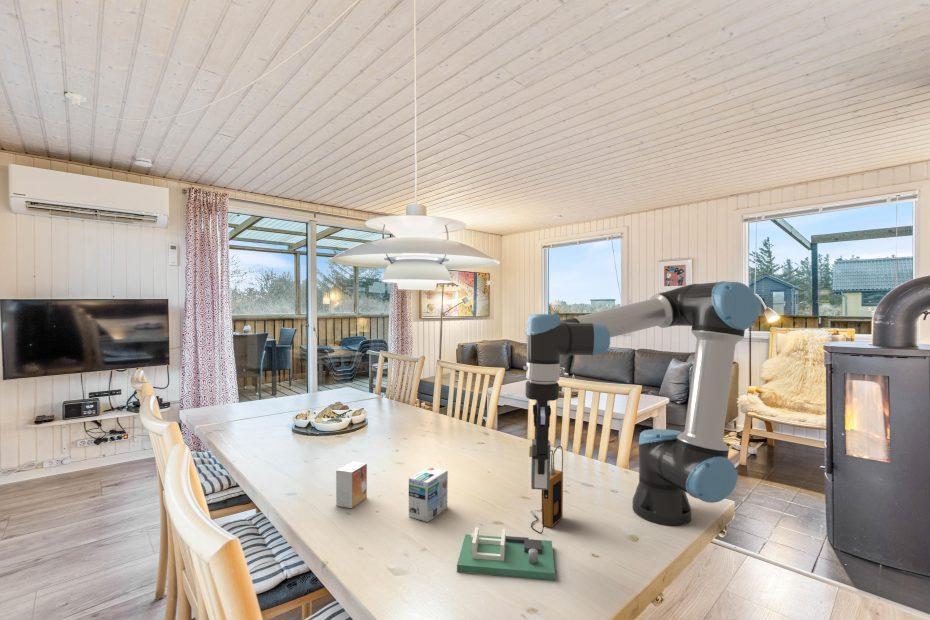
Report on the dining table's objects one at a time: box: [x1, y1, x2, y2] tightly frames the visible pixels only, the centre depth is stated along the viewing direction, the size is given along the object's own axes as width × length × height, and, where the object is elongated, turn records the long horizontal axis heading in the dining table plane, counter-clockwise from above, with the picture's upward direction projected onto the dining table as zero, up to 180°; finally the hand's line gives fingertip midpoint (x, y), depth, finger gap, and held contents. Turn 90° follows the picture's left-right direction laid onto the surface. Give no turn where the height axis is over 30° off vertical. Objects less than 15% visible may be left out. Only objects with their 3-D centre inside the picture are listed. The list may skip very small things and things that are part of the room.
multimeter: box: [529, 445, 564, 534], centre depth 119 cm, size 15×10×20 cm
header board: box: [456, 526, 556, 581], centre depth 100 cm, size 21×13×5 cm, turn 82°
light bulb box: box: [408, 466, 449, 523], centre depth 123 cm, size 11×7×11 cm, turn 151°
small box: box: [335, 461, 368, 509], centre depth 130 cm, size 8×6×10 cm
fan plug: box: [528, 438, 551, 491], centre depth 100 cm, size 5×4×10 cm
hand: (540, 483), depth 100 cm, fingers closed on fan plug, 4 cm apart
